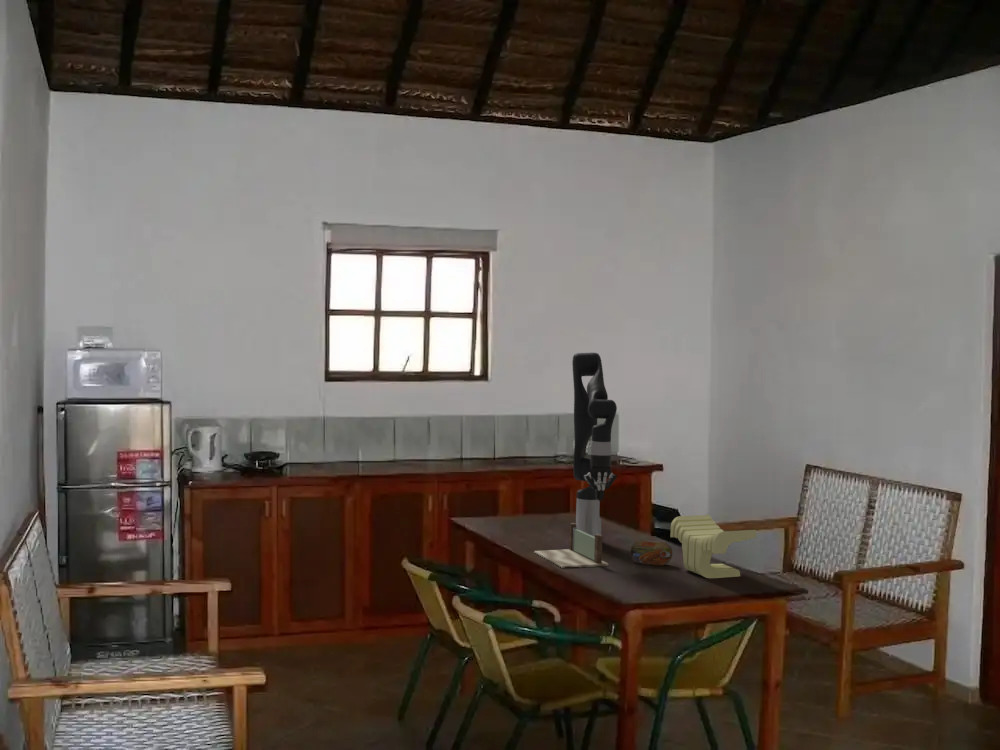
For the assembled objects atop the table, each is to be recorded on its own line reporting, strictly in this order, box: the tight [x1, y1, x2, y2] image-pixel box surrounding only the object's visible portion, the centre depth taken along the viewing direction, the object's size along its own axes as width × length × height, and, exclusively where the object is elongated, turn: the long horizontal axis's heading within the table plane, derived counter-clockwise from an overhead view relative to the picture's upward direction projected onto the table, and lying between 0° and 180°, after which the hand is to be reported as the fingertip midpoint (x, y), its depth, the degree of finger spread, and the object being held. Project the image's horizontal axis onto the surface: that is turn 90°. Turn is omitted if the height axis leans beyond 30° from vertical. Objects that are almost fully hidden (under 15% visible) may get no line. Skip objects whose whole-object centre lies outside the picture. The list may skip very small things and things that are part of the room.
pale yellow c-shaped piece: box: [670, 514, 757, 579], centre depth 383 cm, size 30×16×18 cm, turn 20°
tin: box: [630, 540, 673, 566], centre depth 397 cm, size 15×3×8 cm, turn 70°
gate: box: [573, 527, 595, 560], centre depth 404 cm, size 2×21×8 cm, turn 19°
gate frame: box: [533, 522, 609, 569], centre depth 401 cm, size 18×27×11 cm, turn 19°
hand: (599, 500), depth 405 cm, fingers closed
